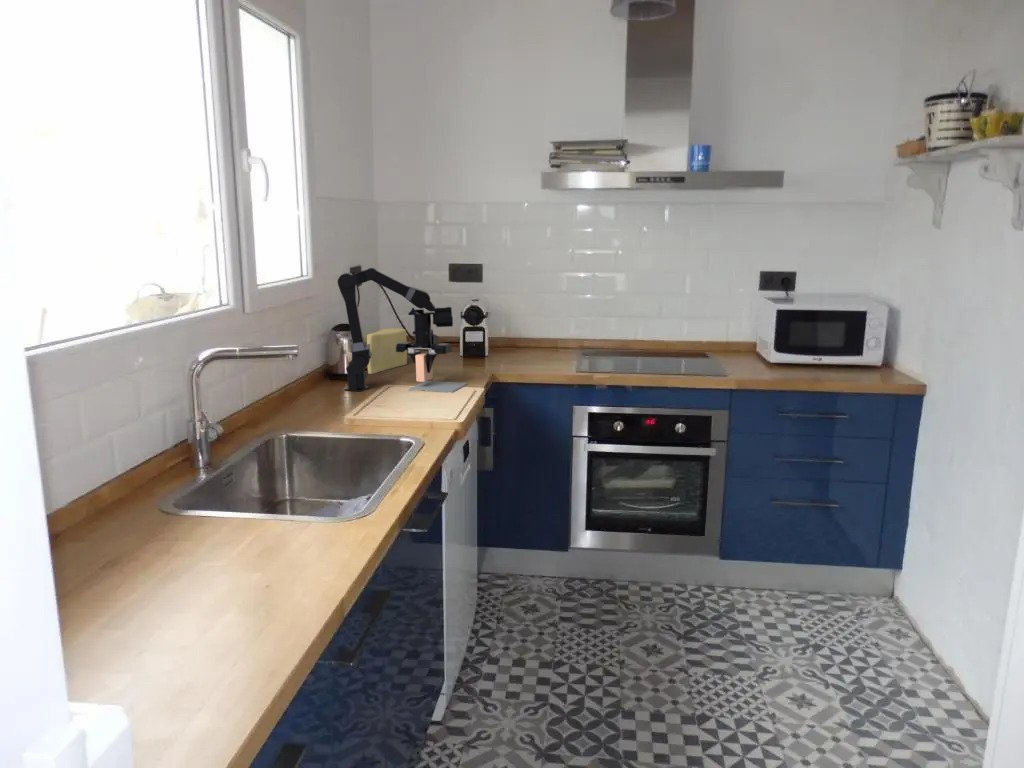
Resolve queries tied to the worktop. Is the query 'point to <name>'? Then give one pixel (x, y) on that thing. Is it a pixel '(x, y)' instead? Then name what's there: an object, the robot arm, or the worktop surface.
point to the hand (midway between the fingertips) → (424, 372)
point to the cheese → (386, 350)
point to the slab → (422, 368)
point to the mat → (438, 386)
